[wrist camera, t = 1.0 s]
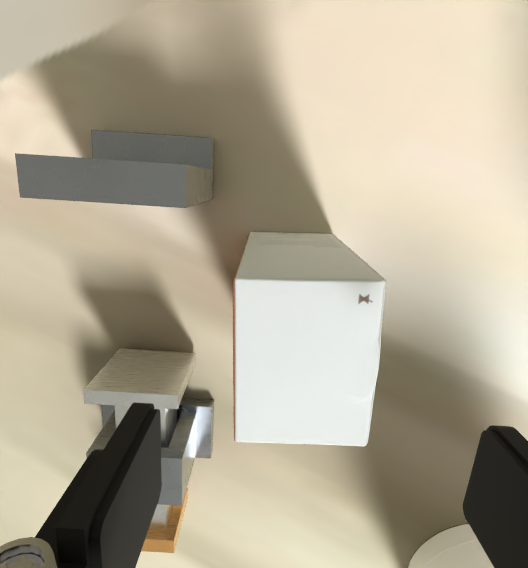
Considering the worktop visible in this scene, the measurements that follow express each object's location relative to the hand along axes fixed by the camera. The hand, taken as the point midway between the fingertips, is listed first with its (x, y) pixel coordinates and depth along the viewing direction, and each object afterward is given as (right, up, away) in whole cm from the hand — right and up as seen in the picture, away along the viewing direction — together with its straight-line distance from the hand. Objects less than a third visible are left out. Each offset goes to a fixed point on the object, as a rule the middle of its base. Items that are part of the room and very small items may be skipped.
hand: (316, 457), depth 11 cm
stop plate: (-9, +12, +16) cm, 22 cm away
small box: (0, +5, +18) cm, 19 cm away
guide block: (-10, -7, +21) cm, 24 cm away
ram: (-10, -7, +21) cm, 24 cm away
